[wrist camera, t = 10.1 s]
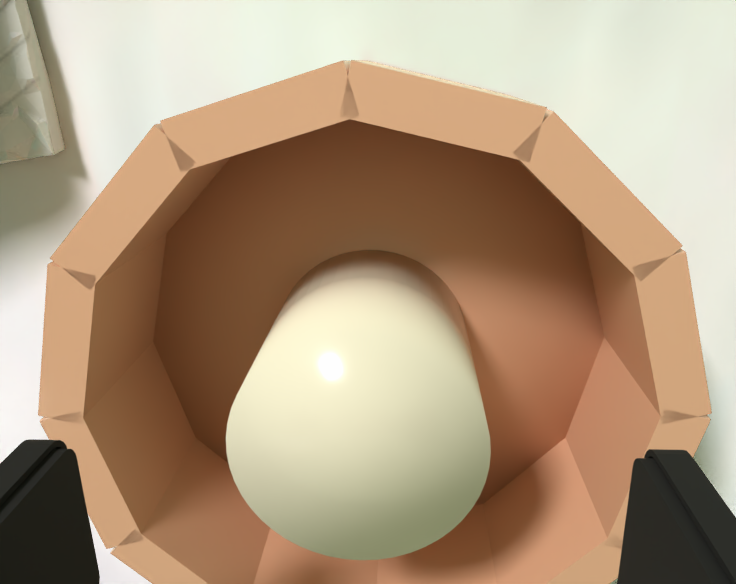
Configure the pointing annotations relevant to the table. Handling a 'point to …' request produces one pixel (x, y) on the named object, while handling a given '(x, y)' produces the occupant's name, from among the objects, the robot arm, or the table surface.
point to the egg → (362, 412)
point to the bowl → (353, 233)
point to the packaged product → (24, 90)
